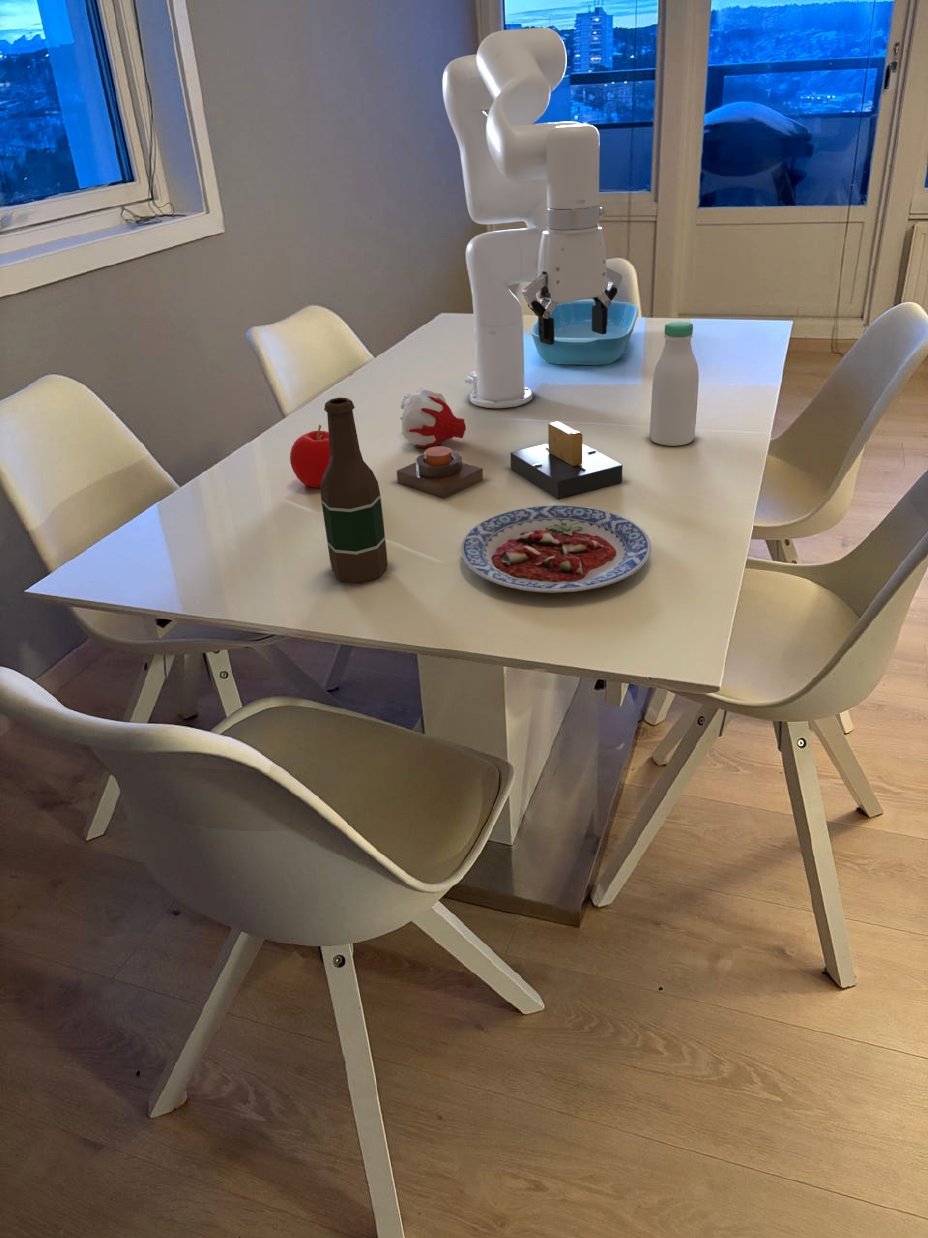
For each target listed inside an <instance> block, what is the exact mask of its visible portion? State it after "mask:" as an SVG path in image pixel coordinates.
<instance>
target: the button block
mask: <svg viewBox="0 0 928 1238" xmlns="http://www.w3.org/2000/svg"><path fill="white" fill-rule="evenodd" d="M483 469H484V468H482V467H479V466H477V465H473V464H469V463H466V462H463V457H462V456H461V455H460V454H459V453H458V452H455V451H452V461H451V462H449V463H447V464H442V465H430V464H427V463H425V453H423V454H420V455H418V457H416V459H415V462H413V463H411V464H409V465H406V466H404V467H402V468H399V469H397V470H396V479H397V480H396V481H397V483H398V484H401V485H403V486H406V487H409V488H413V489H416V490H418V491H422V492H424V493H427V494H430V495H433V496H437V497H439V498H442V499H447V498H449V497H451V496H454V495H456V494H458V493H460V492H462V491H464V490H466V489H469V488H470V487H473V486H475V485H477V484H479V483H481V482H483V481H484V471H483Z"/></svg>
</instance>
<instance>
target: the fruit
mask: <svg viewBox="0 0 928 1238" xmlns="http://www.w3.org/2000/svg"><path fill="white" fill-rule="evenodd" d="M321 428H322V425H321V424H319V425H318V430H311V431H309V432H306V433H304V434H302V435H301V436H299V437H298V438H297V439H296V440H295V441H294V442H293V444H292V445H291V448H290V453H289V462H290V466H291V467H290V468H291V469H292V471H293V473H294V474H295V477H296V478H297V479H298V480H299V482H301V483H302V484H303V485H305V486H307V487H309V488H314V489H315V488H316V489H320V486H321V482H322V477H323V474H324V472H325V471H326V469H327V467H328V465H329V461H330V445H329V431H326V430H321Z"/></svg>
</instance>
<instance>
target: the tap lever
mask: <svg viewBox="0 0 928 1238" xmlns="http://www.w3.org/2000/svg"><path fill="white" fill-rule="evenodd" d="M547 425H548V426H547V427H548V428H547V431H548V432H547V433H548V435H547V436H548V437H547V439H548V442H547V443H548V446H549V453H551V454H553V455H554V456H556V457H558V458H560V459H561V460H563V461H565V462H566V463H568V464H570V465H572V466H576V465H580V464H582V443H583V440H584V439H583V433H582V432H581V431H580V430H576V429H573V428H571V427H569V426H567V424H564V423H562V422H560V421H553V422H552V421H551V422H549V423H548V424H547Z"/></svg>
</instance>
